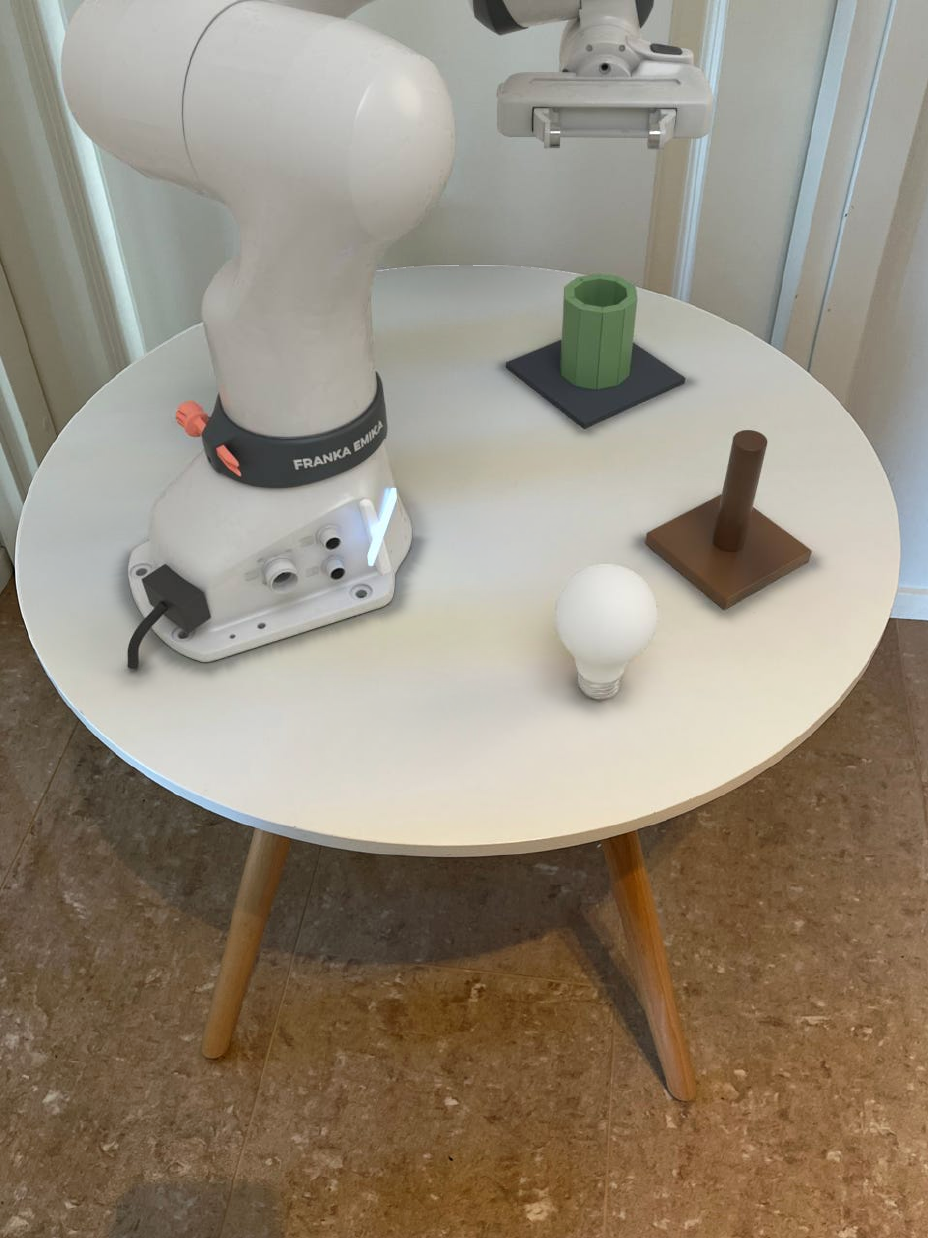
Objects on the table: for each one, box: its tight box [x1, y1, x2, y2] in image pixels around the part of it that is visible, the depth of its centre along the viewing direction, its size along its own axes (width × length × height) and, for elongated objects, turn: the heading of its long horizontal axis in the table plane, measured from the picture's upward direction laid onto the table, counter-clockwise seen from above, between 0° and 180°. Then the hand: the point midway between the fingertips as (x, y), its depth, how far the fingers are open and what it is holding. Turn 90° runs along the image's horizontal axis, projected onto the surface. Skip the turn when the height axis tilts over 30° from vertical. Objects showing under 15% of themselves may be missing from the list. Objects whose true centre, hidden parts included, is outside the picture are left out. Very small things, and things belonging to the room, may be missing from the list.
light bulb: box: [553, 563, 659, 701], centre depth 70 cm, size 7×7×11 cm
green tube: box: [560, 273, 638, 390], centre depth 97 cm, size 6×7×8 cm
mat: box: [505, 339, 686, 429], centre depth 100 cm, size 12×12×1 cm
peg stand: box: [644, 429, 813, 610], centre depth 79 cm, size 9×9×11 cm
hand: (604, 140), depth 96 cm, fingers open, 8 cm apart
